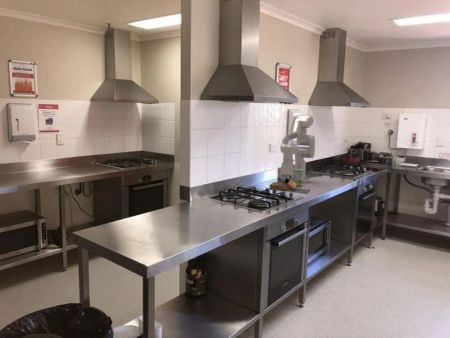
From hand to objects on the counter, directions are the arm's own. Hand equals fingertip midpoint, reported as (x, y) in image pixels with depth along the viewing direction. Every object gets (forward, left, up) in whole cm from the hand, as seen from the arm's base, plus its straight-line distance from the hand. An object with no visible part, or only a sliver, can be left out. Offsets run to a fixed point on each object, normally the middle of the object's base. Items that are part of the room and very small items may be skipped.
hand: (286, 183), depth 295 cm
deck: (0, -4, -5) cm, 6 cm away
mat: (0, +11, -5) cm, 12 cm away
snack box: (-18, -1, -5) cm, 19 cm away
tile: (0, +4, -1) cm, 4 cm away
